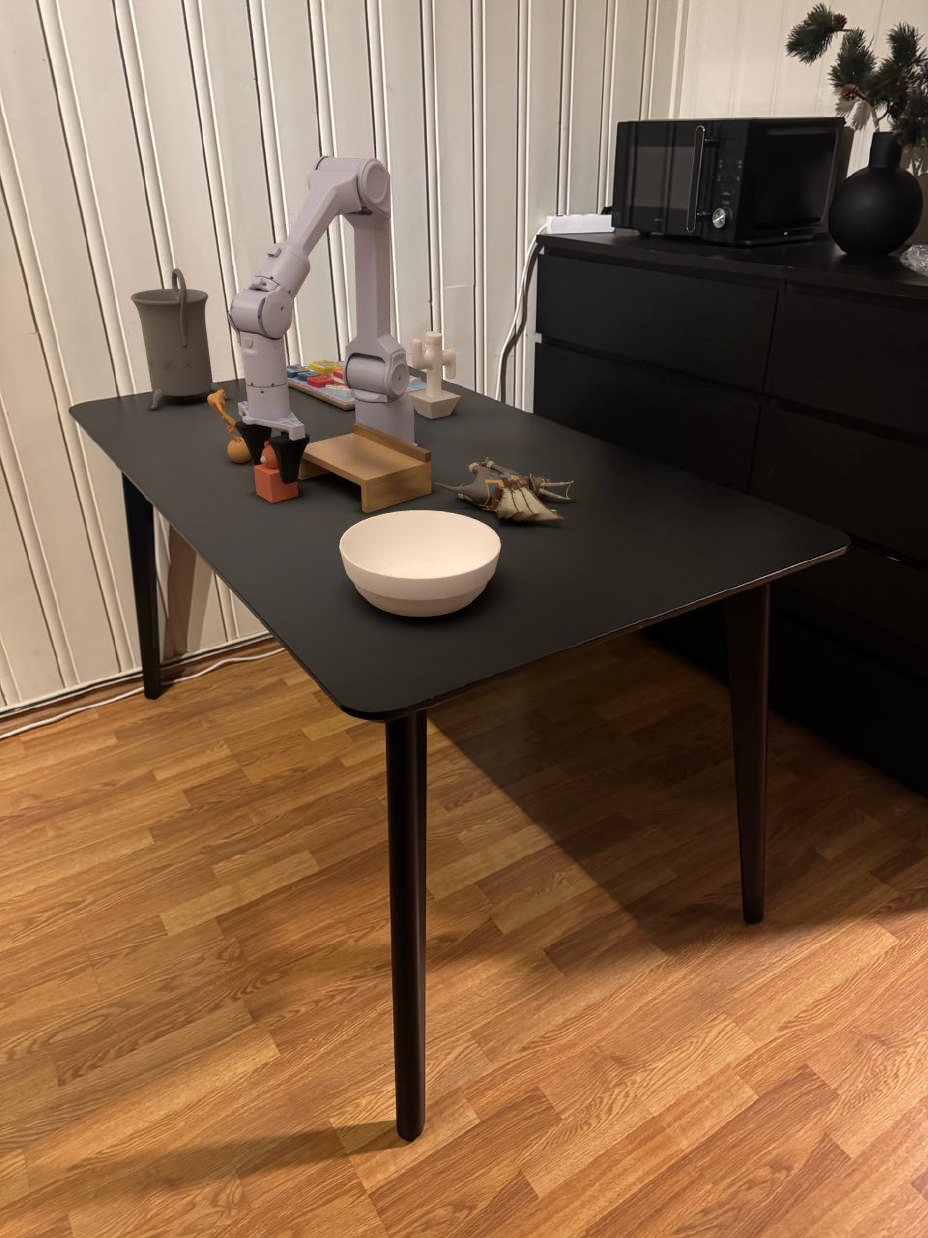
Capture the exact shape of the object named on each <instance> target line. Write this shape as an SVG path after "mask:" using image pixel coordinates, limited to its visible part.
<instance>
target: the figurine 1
mask: <svg viewBox="0 0 928 1238" xmlns="http://www.w3.org/2000/svg"><path fill="white" fill-rule="evenodd" d="M224 396H227V394H226V392H225V390H224V389H223V388H222V389H220V390H219V391H218V392H216V393H211V394H209V395H208V396H207V402H208V403H207V404H208V405H209V406H210V407H211V408H212V410H213V411H214V412H215V413H216V415H217V416H218V417H220V419H222V420H223V421H224V423H225V424H227V426H226V430H227V433H228V434H229V437H231V438H232V439H231V441H230V442H229V443H228V445H227V449H226V450H227V454H228V457H229V459H231V460H232V461H233V462H235V463H239V464H243V463H246V462H249V461H250V460H251V456H250V453H249V450H248V448H247V446H246V443H245V441H244V439H243V438H242V437H241V436H239V435H235V434H234V432H235V430H237V429H236V427H235V423H236V422H237V421H235V419H234V418H232V417H231V415H229V414H227V411H226V404H227V403H226V400H224Z"/></svg>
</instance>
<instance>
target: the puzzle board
mask: <svg viewBox="0 0 928 1238" xmlns="http://www.w3.org/2000/svg"><path fill="white" fill-rule="evenodd" d="M344 362H345V360H339V361H333V360H326V359H324V360H323V359H322V360H317V361H310V362H309V363H308V365H303V366H302V365H300V364H297V363H295V364H289V365H286V368H287V379H288V387H291V388H293V389H295V390H297V391H300V392H302V393H304V394H307V395H309V396H312V397H314V398H316V399H318V400H321V401H323V402H325V403H328V404H330V405H333V406H334V407H337V408H340V409H342V410H344V411H349V410H355V397H354V396H352V395H351V390H350V389H349V388H348V387H347V386H346V385H345V383H344V380H343V372H342V371H343V365H344ZM409 375H410V377H409V384H408V387H407V389H406V391H405V392H404V393H406V394H408V393H413V392H418V391H423V390H427V381H425V380H422V377H421V376H419V375H417V374H413V373H411V372H409Z"/></svg>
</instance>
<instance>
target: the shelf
mask: <svg viewBox="0 0 928 1238" xmlns="http://www.w3.org/2000/svg"><path fill="white" fill-rule="evenodd" d="M330 473H333V474H335V475H337V476H339V477H342V478H343V479H345V480H347V481H350V482H352V483H354V484H355V485H358V486H360V489H361V490H360V491H361V511H362V512H364V513H366V514H370V513H373V512H376V511H380V510H382V509H385V508H386V509H387V508H388V507H392V506H396V505H398V504H401V503H405V502H408V501H411V500H414V499H417V498H421V497H423V496H426V495H430V494H432V450H428V449H426V448H423V447H420V446H418V445H417V446H416V445H414V444H411V443H409V442H406V441H404V440H401V439H399V438H396V437H394V436H391V435H389V434H386V433H384V432H381V431H379V430H376V429H374V428H371V427H369V426H366V425H364V424H361V423H359V422H358V423H356V422H354V423H352V432H351V433H347V434H343V435H339V436H335V437H329V438H327V439H326V438H325V439H323V440H318V441H314V442H310V443H308V444H307V446H306V448H305V450H304V453H303V456H302V459H301V464H300V469H299V475H298V480H300V481H304V480H309V479H311V478H314V477H318V476H322V475H326V474H330Z"/></svg>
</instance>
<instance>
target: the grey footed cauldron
mask: <svg viewBox="0 0 928 1238" xmlns="http://www.w3.org/2000/svg"><path fill="white" fill-rule="evenodd" d="M178 283H179V285H178ZM171 286H172V288H158V289H149V290H148V289H147V290H143V291H142V290H141V291H139V292H135V293H133V294H131V296H130V300H131V301H132V302H133V304H134V306H135V308H136V309H137V312H138V317H139V319H140V324H141V330H142V331H141V332H142V337H143V343H144V349H145V356H146V361H147V369H148V374H149V381H150V382H149V383H150V387H151V391H152V393H153V396H152V405H151V406H150V408H151V410H156V409H158V408H159V405H160V404H161V402H162V401H163V400H164V399H165V398H166V396H167V397H187V396H195V395H201V394H205V393H208V392H210V393H211V394H213V393H216V392H218V391H219V390H220V389H223V388H222V386H220V385H219V384H217V383H216V382H213V372H212V365H211V364H212V363H211V356H210V348H209V340H208V331H207V322H206V305H207V301H208V299H209V294H208V293H207V292H205V291H203V290H198V289H191V288H187V284H186V280H185V277H184V275H183V272H182V271H181V269H179V268H178V267H175V268H173V270H172V272H171ZM228 399H229V397H228V395H225V396H224V400H225V401H227V400H228Z"/></svg>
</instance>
